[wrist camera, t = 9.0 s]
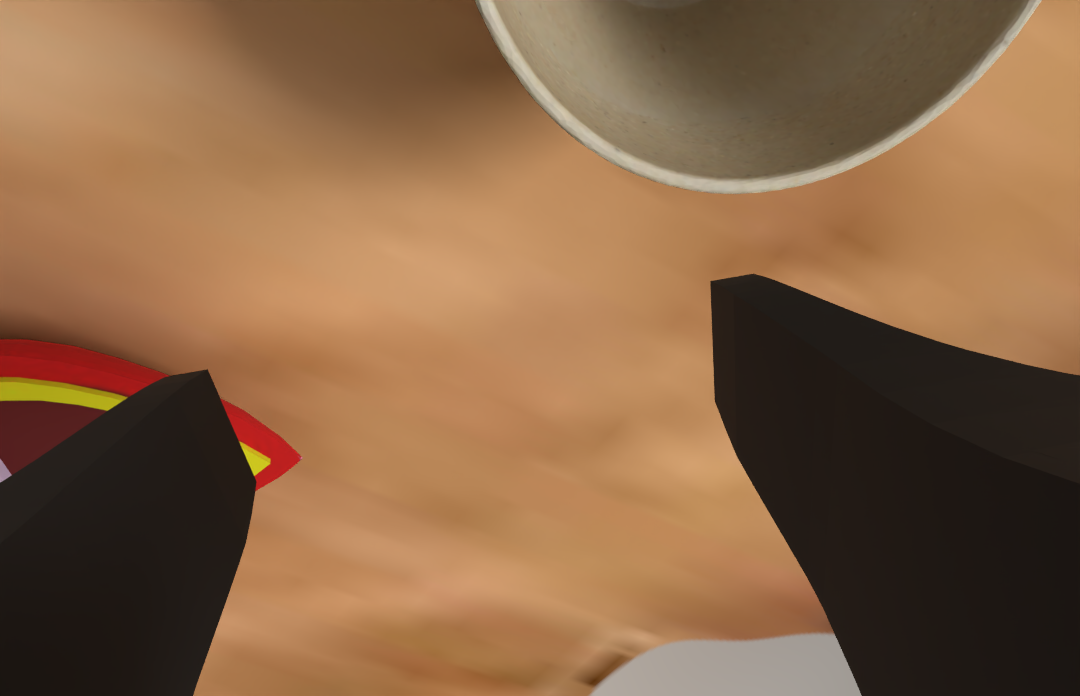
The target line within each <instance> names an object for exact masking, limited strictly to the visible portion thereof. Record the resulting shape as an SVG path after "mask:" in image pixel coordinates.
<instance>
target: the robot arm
mask: <svg viewBox="0 0 1080 696" xmlns="http://www.w3.org/2000/svg"><path fill="white" fill-rule="evenodd" d="M711 308H712V335H713V362H714V389H715V402H716V405H717V408H718V410H719V413H720V415H721V418H722V421H723V423H724V426H725V428H726V431H727V433H728V436H729V438H730V441H731V443H732V445H733V448H734V450H735V453H736V455H737V457H738V459H739V461H740V462H741V464H742V466H743V468H744V470H745V471H746V473H747V475H748V477H749V478H750V480H751V482H752V484H753V485H754V487H755V489H756V491H757V492H758V494H759V496H760V498H761V499H762V501H763V503H764V504H765V506H766V508H767V510H768V511H769V513H770V515H771V516H772V518H773V520H774V521H775V523H776V525H777V527H778V528H779V530H780V532H781V533H782V535H783V537H784V539H785V540H786V542H787V544H788V545H789V547H790V549H791V551H792V552H793V554H794V556H795V557H796V559H797V561H798V563H799V564H800V566H801V568H802V569H803V571H804V573H805V575H806V576H807V578H808V580H809V582H810V584H811V586H812V588H813V589H814V591H815V593H816V595H817V597H818V599H819V601H820V603H821V605H822V607H823V609H824V611H825V613H826V615H827V618H828V620H829V622H830V624H831V627H832V629H833V631H834V633H835V636H836V638H837V640H838V642H839V644H840V647H841V649H842V651H843V653H844V656H845V658H846V660H847V662H848V665H849V667H850V669H851V671H852V674H853V676H854V678H855V681H856V683H857V685H858V687H859V690H860V693H861V695H862V696H1080V376H1079V375H1073V374H1068V373H1062V372H1057V371H1053V370H1048V369H1043V368H1038V367H1034V366H1029V365H1025V364H1021V363H1017V362H1013V361H1009V360H1005V359H1001V358H997V357H993V356H989V355H985V354H981V353H977V352H973V351H969V350H965V349H962V348H958V347H955V346H952V345H948V344H945V343H941V342H938V341H935V340H932V339H929V338H926V337H923V336H920V335H917V334H914V333H911V332H908V331H905V330H902V329H899V328H896V327H893V326H890V325H888V324H885V323H882V322H879V321H877V320H874V319H871V318H868V317H866V316H863V315H861V314H858V313H855V312H853V311H850V310H848V309H845V308H843V307H840V306H838V305H835V304H833V303H830V302H828V301H825V300H823V299H820V298H818V297H815V296H813V295H810V294H808V293H806V292H803V291H801V290H798V289H796V288H793V287H791V286H788V285H786V284H783V283H780V282H778V281H775V280H772V279H769V278H766V277H763V276H760V275H756V274H749V275H744V276H738V277H732V278H726V279H721V280H715V281H711ZM256 483H257V481H256V479H255V477H254V474H253V472H252V470H251V468H250V465H249V463H248V461H247V458H246V456H245V454H244V452H243V449H242V447H241V445H240V443H239V440H238V438H237V436H236V433H235V431H234V429H233V427H232V424H231V422H230V420H229V417H228V415H227V413H226V411H225V408H224V406H223V404H222V401H221V399H220V397H219V395H218V392H217V390H216V388H215V385H214V383H213V381H212V379H211V376H210V374H209V372H208V370H202V371H196V372H191V373H185V374H179V375H174V376H168V377H164V378H162V379H160V380H158V381H156V382H154V383H152V384H150V385H148V386H146V387H144V388H143V389H141V390H139V391H138V392H136V393H134V394H133V395H131V396H130V397H128V398H126V399H125V400H123V401H122V402H120V403H119V404H117V405H116V406H114V407H113V408H111V409H110V410H108V411H107V412H105V413H104V414H102V415H101V416H99V417H98V418H96V419H95V420H93V421H92V422H90V423H89V424H87V425H86V426H85V427H83V428H82V429H80V430H79V431H77V432H76V433H74V434H73V435H71V436H70V437H68V438H67V439H65V440H64V441H63V442H61V443H60V444H58V445H57V446H55V447H54V448H52V449H51V450H49V451H48V452H46V453H45V454H43V455H42V456H40V457H39V458H38V459H36V460H35V461H33V462H31V463H30V464H28V465H27V466H25V467H24V468H22V469H21V470H19V471H17V472H16V473H14V474H13V475H11V476H10V477H8V478H7V479H5V480H4V481H2V482H0V696H193V694H194V691H195V687H196V685H197V682H198V679H199V676H200V673H201V670H202V668H203V665H204V662H205V659H206V656H207V653H208V651H209V648H210V645H211V642H212V639H213V637H214V634H215V631H216V628H217V625H218V622H219V620H220V617H221V614H222V611H223V608H224V605H225V603H226V600H227V597H228V594H229V591H230V588H231V585H232V583H233V580H234V577H235V574H236V571H237V568H238V565H239V562H240V559H241V556H242V553H243V550H244V547H245V544H246V539H247V534H248V529H249V525H250V520H251V515H252V508H253V502H254V496H255V490H256Z"/></svg>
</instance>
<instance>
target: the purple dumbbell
mask: <svg viewBox="0 0 1080 696" xmlns="http://www.w3.org/2000/svg"><path fill="white" fill-rule="evenodd" d="M168 376H169V375H166V374H164V373H161V372H158V371H155V370H152V369H149V368H146V367H143V366H141V365H138V364H135V363H132V362H129V361H126V360H123V359H120V358H117V357H113V356H109V355H106V354H102V353H98V352H94V351H91V350H87V349H83V348H80V347H76V346H71V345H63V344H56V343H49V342H42V341H35V340H27V339H0V482H2V481H4V480H5V479H7V478H8V477H10V476H11V475H13V474H14V473H16V472H17V471H19V470H21V469H22V468H24V467H25V466H27V465H28V464H30V463H31V462H33V461H35V460H36V459H38V458H39V457H40V456H42V455H43V454H45V453H46V452H48V451H49V450H51V449H52V448H54V447H55V446H57V445H58V444H60V443H61V442H63V441H64V440H65V439H67V438H68V437H70V436H71V435H73V434H74V433H76V432H77V431H79V430H80V429H82V428H83V427H85V426H86V425H87V424H89V423H90V422H92V421H93V420H95V419H96V418H98V417H99V416H101V415H102V414H104V413H105V412H107V411H108V410H110V409H111V408H113V407H114V406H116V405H117V404H119V403H120V402H122V401H123V400H125V399H126V398H128V397H130V396H131V395H133V394H134V393H136V392H138V391H139V390H141V389H143V388H144V387H146V386H148V385H150V384H152V383H154V382H156V381H158V380H160V379H162V378H164V377H168ZM221 401H222V404H223V406H224V408H225V411H226V413H227V415H228V417H229V420H230V422H231V424H232V427H233V429H234V431H235V433H236V436H237V438H238V440H239V443H240V445H241V447H242V449H243V452H244V454H245V456H246V458H247V461H248V463H249V465H250V468H251V470H252V472H253V474H254V477H255V479H256V481H257V483H256V490H258V489H260V488H261V487H263V486H265V485H267V484H268V483H270V482H272V481H273V480H275V479H277V478H279V477H280V476H281V475H283V474H284V473H285V472H287V471H288V470H289V469H290V468H292V467H293V466H294V465H295V464H297V463H298V462H299V461H300V460H301V459H302V457H301V456H300V455H299V454H298V453H297V452H296V451H295V450H294V449H293V448H292V447H291V446H290V445H289V444H288V443H287V442H286V441H285V440H284V439H282V438H281V437H280V436H279V435H277V434H276V433H275V432H273V431H272V430H270V429H269V428H268V427H266V426H265V425H264V424H262V423H261V422H259V421H258V420H257V419H255V418H254V417H252V416H251V415H250V414H248V413H247V412H245V411H244V410H242V409H240V408H238V407H236V406H234V405H232V404H230V403H228V402H226V401H224V400H222V399H221ZM256 490H255V491H256Z"/></svg>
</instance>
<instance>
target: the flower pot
mask: <svg viewBox="0 0 1080 696" xmlns="http://www.w3.org/2000/svg"><path fill="white" fill-rule="evenodd" d="M1041 1H1042V0H475V2H476V5H477V8H478V10H479V12H480V14H481V16H482V18H483V20H484V22H485V24H486V26H487V28H488V30H489V32H490V34H491V36H492V38H493V40H494V42H495V44H496V46H497V47H498V49H499V51H500V53H501V54H502V56H503V57H504V59H505V60H506V62H507V63H508V65H509V66H510V68H511V69H512V71H513V72H514V74H515V75H516V76H517V78H518V79H519V81H520V82H521V84H522V85H523V86H524V88H525V89H526V90H527V92H528V93H529V94H530V95H531V97H532V98H533V99H534V100H535V101H536V102H537V103H538V104H539V105H540V107H541V108H542V109H543V110H544V111H545V112H546V113H547V114H548V115H549V116H550V117H551V118H552V119H553V120H554V121H555V122H556V123H557V124H558V125H559V126H560V127H561V128H563V129H564V130H565V131H566V132H567V133H569V134H570V135H571V136H572V137H573V138H574V139H576V140H577V141H578V142H580V143H581V144H583V145H584V146H586V147H587V148H589V149H590V150H592V151H593V152H595V153H596V154H598V155H599V156H601V157H602V158H604V159H606V160H607V161H609V162H611V163H613V164H615V165H617V166H619V167H620V168H622V169H625V170H627V171H629V172H631V173H634V174H636V175H638V176H641V177H644V178H647V179H650V180H652V181H655V182H659V183H662V184H665V185H668V186H673V187H678V188H682V189H687V190H693V191H700V192H707V193H720V194H744V193H759V192H768V191H774V190H782V189H787V188H792V187H797V186H801V185H805V184H809V183H813V182H815V181H818V180H822V179H825V178H828V177H831V176H834V175H836V174H839V173H842V172H844V171H847V170H849V169H851V168H853V167H856V166H858V165H860V164H862V163H864V162H866V161H869V160H871V159H873V158H875V157H876V156H878V155H880V154H882V153H884V152H886V151H888V150H889V149H891V148H893V147H894V146H896V145H897V144H899V143H901V142H902V141H904V140H905V139H906V138H908V137H910V136H911V135H913V134H915V133H916V132H918V131H919V130H921V129H922V128H923V127H925V126H926V125H927V124H929V123H930V122H931V121H932V120H934V119H935V118H936V117H938V116H939V115H940V114H942V113H943V112H944V111H945V110H947V109H948V108H949V107H950V106H951V105H953V104H954V103H955V102H956V101H957V100H958V99H959V98H960V97H961V96H963V95H964V94H965V93H966V92H967V91H968V90H969V89H970V88H971V87H972V86H973V85H974V84H975V83H976V82H977V81H978V80H979V78H980V77H981V76H982V75H983V74H984V73H985V72H986V71H987V70H988V69H989V68H990V67H991V66H992V64H993V63H994V62H995V61H996V60H997V59H998V58H999V57H1000V55H1001V54H1002V53H1003V52H1004V51H1005V50H1006V49H1007V47H1008V46H1009V44H1010V43H1011V42H1012V41H1013V39H1014V38H1015V37H1016V36H1017V34H1018V33H1019V32H1020V30H1021V29H1022V27H1023V26H1024V25H1025V23H1026V22H1027V21H1028V19H1029V18H1030V16H1031V15H1032V14H1033V12H1034V11H1035V9H1036V8H1037V6H1038V5H1039V3H1040V2H1041Z"/></svg>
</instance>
